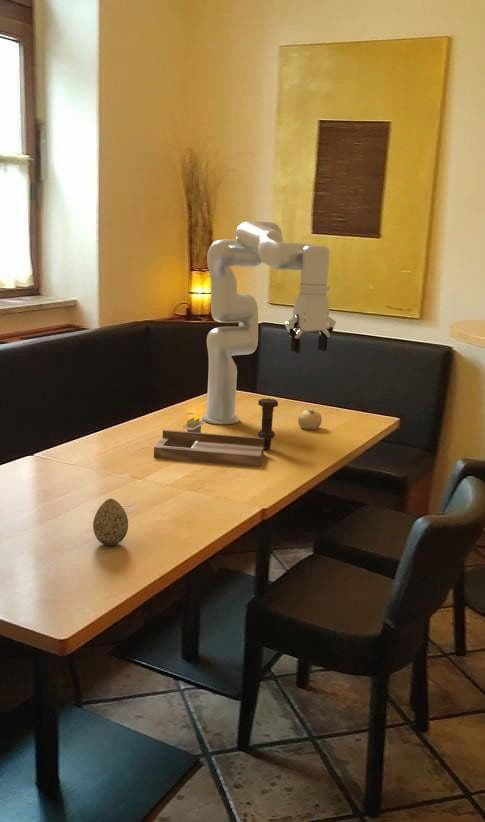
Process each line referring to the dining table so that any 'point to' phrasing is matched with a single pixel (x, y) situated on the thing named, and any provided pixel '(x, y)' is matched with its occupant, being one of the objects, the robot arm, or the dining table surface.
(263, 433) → the bolt
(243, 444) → the brown wooden long tray
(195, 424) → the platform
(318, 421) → the onion
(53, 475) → the dining table surface
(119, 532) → the decorative egg
